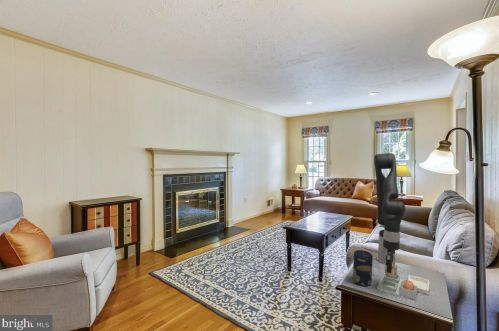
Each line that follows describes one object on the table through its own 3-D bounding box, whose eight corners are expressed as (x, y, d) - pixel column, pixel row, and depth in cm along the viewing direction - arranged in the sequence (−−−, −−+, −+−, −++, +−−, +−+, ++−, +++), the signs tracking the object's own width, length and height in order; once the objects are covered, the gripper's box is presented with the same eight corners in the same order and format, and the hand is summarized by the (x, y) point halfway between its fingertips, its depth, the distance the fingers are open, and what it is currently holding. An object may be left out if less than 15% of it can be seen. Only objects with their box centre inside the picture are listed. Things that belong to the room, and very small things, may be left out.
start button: (404, 290, 128) (404, 279, 128) (413, 293, 126) (413, 282, 126) (403, 294, 125) (403, 282, 125) (412, 297, 123) (413, 285, 122)
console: (401, 288, 131) (401, 281, 130) (416, 293, 126) (417, 286, 126) (399, 294, 125) (399, 287, 125) (415, 300, 121) (416, 292, 120)
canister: (372, 281, 138) (374, 250, 136) (369, 289, 130) (371, 256, 129) (354, 276, 143) (355, 246, 142) (350, 283, 135) (352, 251, 134)
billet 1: (385, 270, 132) (386, 256, 131) (394, 272, 129) (395, 258, 129) (384, 273, 129) (385, 258, 128) (393, 275, 126) (394, 260, 126)
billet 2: (388, 276, 141) (389, 262, 140) (396, 278, 139) (397, 265, 138) (387, 279, 138) (388, 265, 137) (395, 281, 135) (396, 267, 135)
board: (383, 275, 144) (383, 270, 144) (403, 281, 138) (403, 276, 138) (376, 289, 129) (377, 284, 129) (398, 296, 123) (399, 291, 123)
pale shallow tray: (408, 278, 141) (408, 274, 141) (429, 284, 135) (429, 280, 135) (406, 289, 131) (406, 284, 130) (428, 295, 125) (428, 291, 125)
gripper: (385, 233, 136) (383, 264, 137) (380, 241, 125) (379, 273, 126) (401, 237, 131) (399, 268, 132) (398, 244, 120) (395, 278, 121)
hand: (389, 270), depth 129 cm, fingers closed on billet 1, 4 cm apart
